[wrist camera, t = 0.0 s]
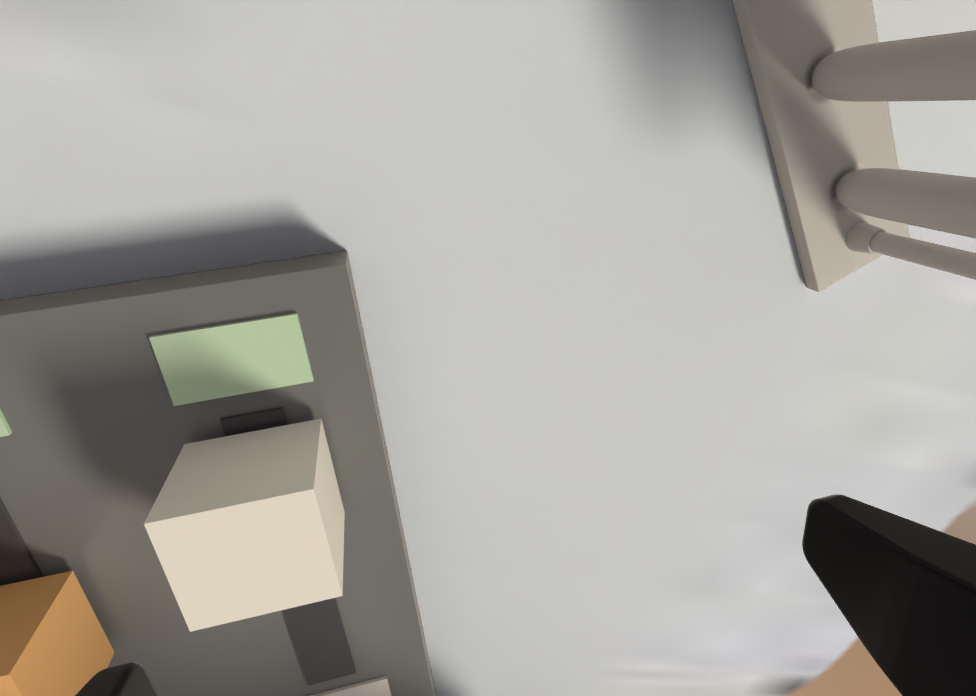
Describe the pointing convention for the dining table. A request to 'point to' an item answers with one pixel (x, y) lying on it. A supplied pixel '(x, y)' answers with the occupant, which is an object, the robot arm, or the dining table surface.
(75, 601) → the block
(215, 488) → the block
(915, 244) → the test tube rack
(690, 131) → the dining table surface
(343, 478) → the breaker panel
